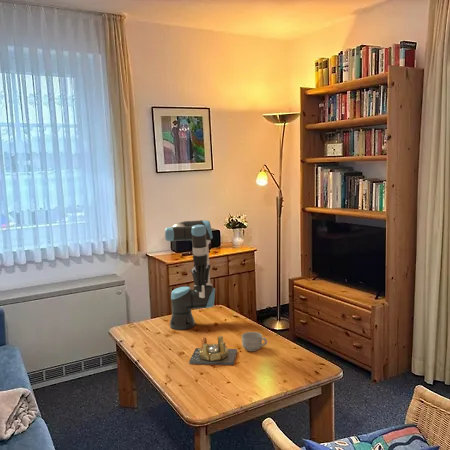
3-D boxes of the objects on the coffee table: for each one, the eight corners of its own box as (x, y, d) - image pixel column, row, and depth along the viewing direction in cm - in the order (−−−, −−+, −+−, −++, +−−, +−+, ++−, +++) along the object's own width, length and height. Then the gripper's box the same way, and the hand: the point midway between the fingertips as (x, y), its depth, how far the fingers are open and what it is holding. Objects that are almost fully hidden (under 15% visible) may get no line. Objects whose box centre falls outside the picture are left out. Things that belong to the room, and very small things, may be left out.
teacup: (238, 349, 253) (237, 335, 252) (251, 343, 261) (250, 329, 259) (258, 356, 243) (258, 341, 242) (271, 349, 251) (271, 335, 250)
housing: (195, 350, 254) (195, 340, 253) (237, 351, 250) (236, 341, 250) (189, 364, 238) (188, 353, 237) (233, 365, 235) (232, 354, 234)
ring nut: (193, 356, 243) (193, 342, 241) (211, 346, 254) (210, 333, 253) (216, 362, 234) (215, 348, 233) (233, 352, 245) (232, 338, 244)
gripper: (196, 258, 244) (198, 302, 249) (213, 252, 254) (215, 295, 258) (186, 256, 250) (188, 299, 254) (203, 251, 259) (205, 292, 263)
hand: (202, 297), depth 256 cm, fingers closed
